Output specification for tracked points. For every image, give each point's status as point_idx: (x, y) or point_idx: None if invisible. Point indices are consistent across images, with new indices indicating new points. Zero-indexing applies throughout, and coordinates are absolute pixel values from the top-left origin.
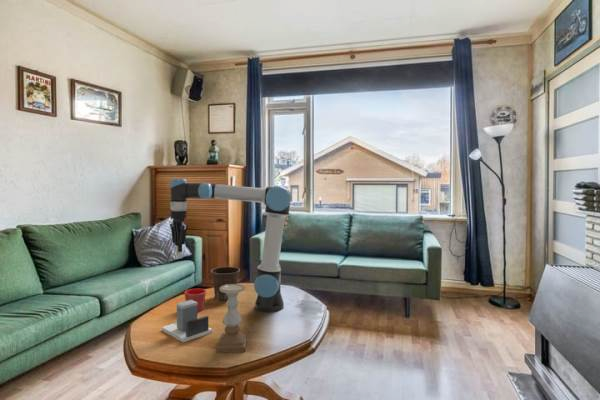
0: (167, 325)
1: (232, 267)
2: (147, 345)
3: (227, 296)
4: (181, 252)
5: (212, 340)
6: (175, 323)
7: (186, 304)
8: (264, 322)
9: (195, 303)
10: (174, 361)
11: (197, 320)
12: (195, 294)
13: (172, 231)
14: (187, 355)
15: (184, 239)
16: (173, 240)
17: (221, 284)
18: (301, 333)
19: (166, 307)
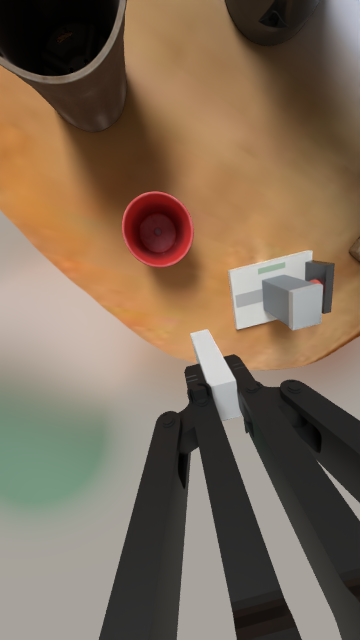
0: (236, 319)
1: None
2: (275, 354)
3: (125, 86)
4: (218, 349)
5: (336, 263)
6: (237, 305)
7: (316, 312)
8: (355, 100)
9: (321, 290)
10: (348, 333)
11: (331, 290)
12: (191, 243)
13: (174, 638)
14: (347, 314)
15: (346, 421)
16: (186, 467)
17: (111, 82)
18: None
19: (104, 291)
